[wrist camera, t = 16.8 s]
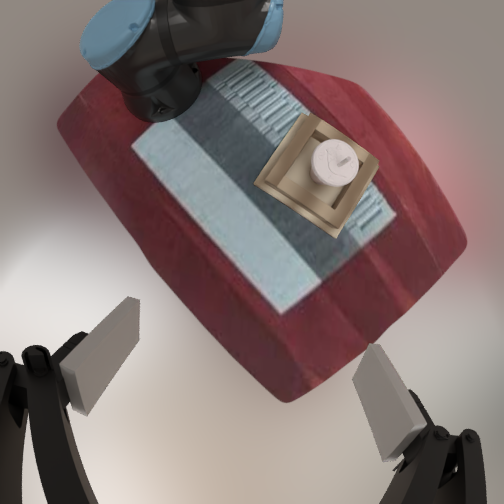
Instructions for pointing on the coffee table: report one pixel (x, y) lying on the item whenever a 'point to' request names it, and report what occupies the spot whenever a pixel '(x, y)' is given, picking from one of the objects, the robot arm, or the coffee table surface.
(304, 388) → the coffee table surface
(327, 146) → the smoothie
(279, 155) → the wooden box
